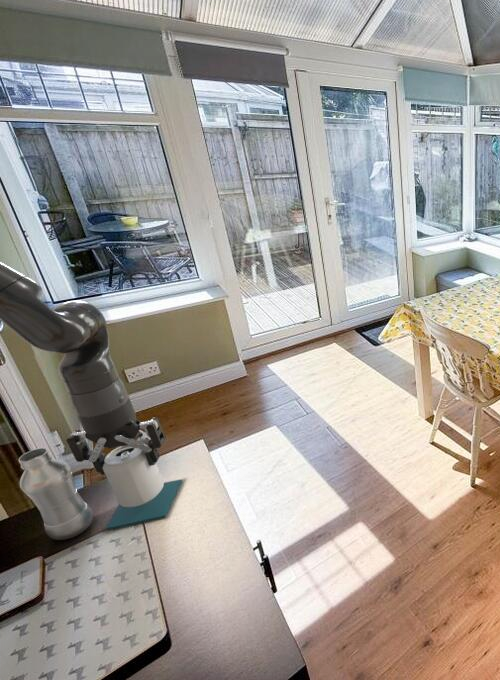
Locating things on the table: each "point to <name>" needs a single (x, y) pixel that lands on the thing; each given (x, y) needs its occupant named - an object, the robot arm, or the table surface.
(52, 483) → the plastic bottle
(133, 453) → the can
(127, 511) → the mat
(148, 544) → the table surface
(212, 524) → the table surface
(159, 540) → the table surface
